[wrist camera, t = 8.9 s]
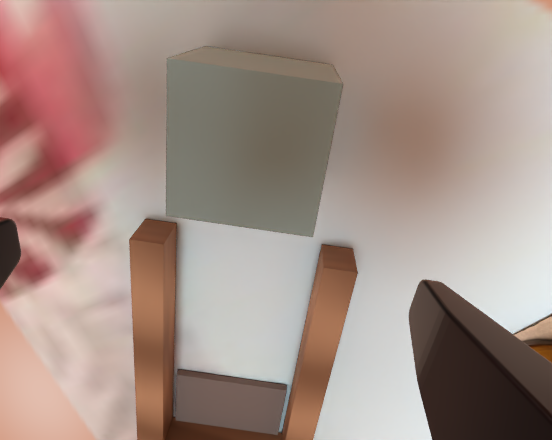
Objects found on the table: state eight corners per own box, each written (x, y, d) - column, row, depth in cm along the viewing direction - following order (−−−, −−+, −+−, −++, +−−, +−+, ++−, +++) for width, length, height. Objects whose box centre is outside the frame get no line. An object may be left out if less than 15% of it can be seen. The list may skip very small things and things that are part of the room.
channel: (301, 450, 26) (301, 482, 25) (149, 429, 26) (138, 459, 25) (353, 249, 19) (357, 272, 18) (145, 218, 19) (129, 239, 18)
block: (310, 182, 18) (313, 237, 14) (200, 166, 18) (165, 215, 14) (332, 64, 16) (343, 83, 11) (205, 45, 16) (167, 58, 11)
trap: (277, 429, 26) (277, 435, 25) (177, 414, 26) (175, 420, 25) (286, 385, 24) (286, 390, 23) (178, 369, 24) (176, 374, 23)
